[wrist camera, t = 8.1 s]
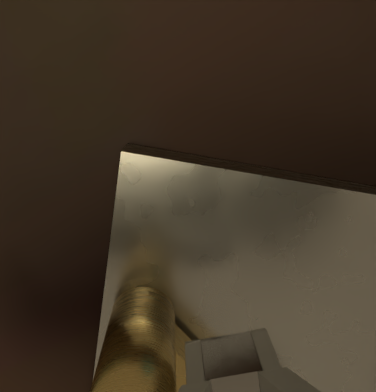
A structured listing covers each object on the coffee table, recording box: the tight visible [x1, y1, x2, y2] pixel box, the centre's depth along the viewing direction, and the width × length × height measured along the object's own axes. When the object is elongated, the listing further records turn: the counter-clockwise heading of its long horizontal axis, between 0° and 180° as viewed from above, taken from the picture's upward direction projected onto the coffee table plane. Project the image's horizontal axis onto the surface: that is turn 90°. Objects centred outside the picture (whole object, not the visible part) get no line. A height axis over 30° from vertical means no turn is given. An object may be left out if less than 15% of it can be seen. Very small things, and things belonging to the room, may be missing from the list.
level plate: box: [93, 143, 376, 392], centre depth 16 cm, size 18×23×4 cm
